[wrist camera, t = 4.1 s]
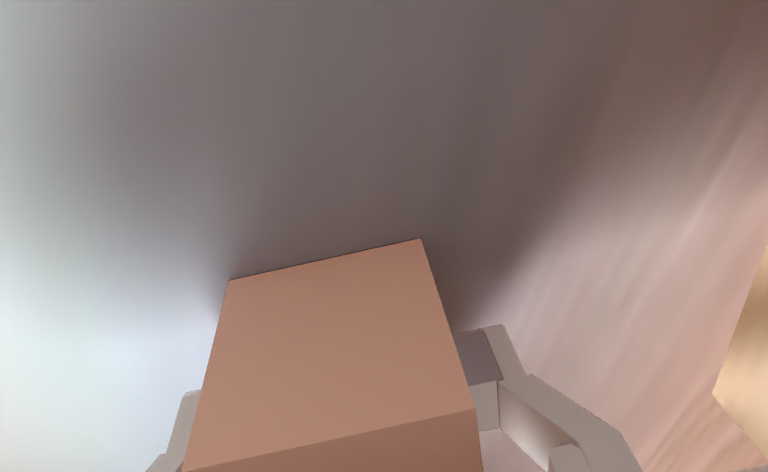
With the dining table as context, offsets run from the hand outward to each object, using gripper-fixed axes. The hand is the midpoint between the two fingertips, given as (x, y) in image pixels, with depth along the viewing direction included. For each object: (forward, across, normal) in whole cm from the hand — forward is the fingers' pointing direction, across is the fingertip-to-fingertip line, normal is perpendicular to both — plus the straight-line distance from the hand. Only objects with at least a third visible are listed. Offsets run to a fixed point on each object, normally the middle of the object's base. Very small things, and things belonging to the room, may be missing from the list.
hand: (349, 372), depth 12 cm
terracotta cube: (+2, 0, 0) cm, 2 cm away
